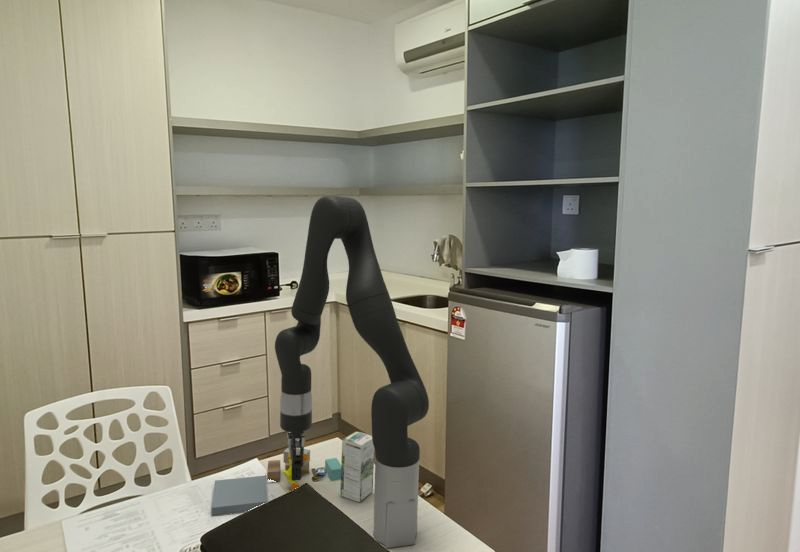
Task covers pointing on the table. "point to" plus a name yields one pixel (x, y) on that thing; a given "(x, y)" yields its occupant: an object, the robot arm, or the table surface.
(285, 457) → the grey brick
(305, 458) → the toy figure
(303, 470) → the oak brick
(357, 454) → the syrup box
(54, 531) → the table surface
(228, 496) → the slate stand
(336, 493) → the table surface
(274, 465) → the walnut brick
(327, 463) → the teal brick
